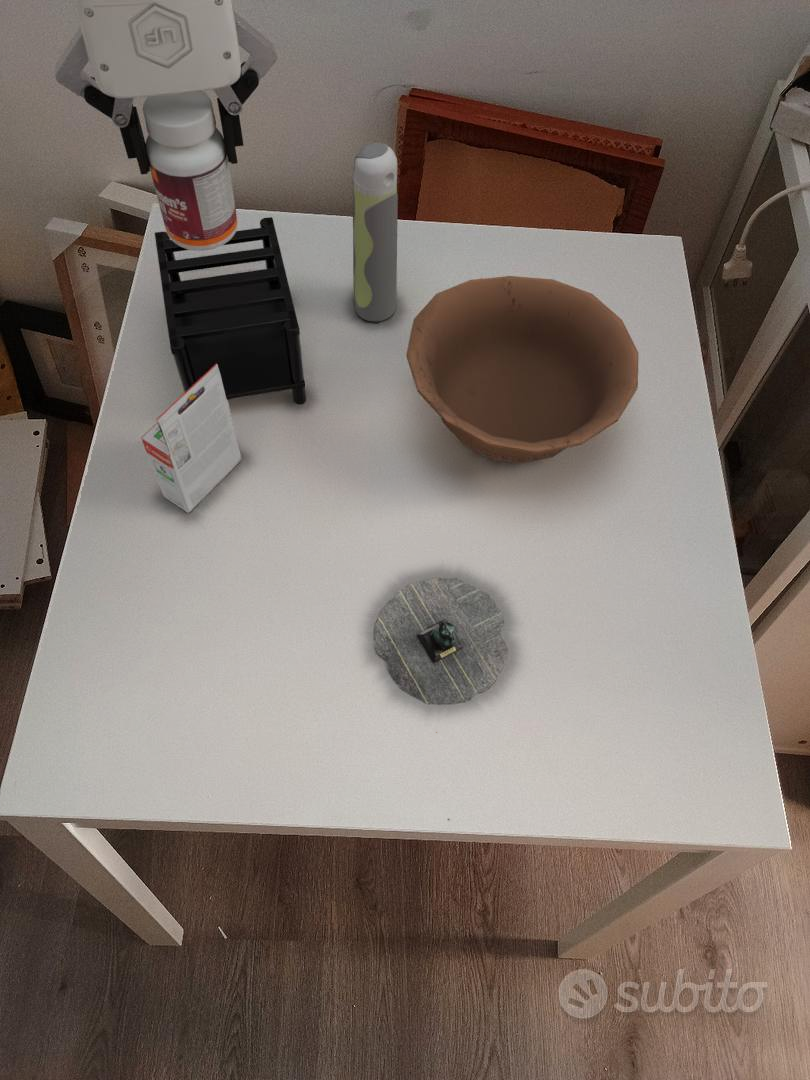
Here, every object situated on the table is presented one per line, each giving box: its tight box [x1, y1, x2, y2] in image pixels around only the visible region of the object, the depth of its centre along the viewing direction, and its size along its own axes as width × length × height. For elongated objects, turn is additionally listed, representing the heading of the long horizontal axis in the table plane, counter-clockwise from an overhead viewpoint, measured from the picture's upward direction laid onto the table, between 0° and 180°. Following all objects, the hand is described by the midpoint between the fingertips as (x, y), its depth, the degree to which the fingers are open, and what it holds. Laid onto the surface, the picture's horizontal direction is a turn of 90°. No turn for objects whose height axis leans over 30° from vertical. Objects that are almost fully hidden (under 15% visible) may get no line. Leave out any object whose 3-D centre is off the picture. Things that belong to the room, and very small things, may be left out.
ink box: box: [140, 364, 242, 514], centre depth 76 cm, size 4×8×15 cm, turn 145°
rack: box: [154, 216, 307, 406], centre depth 85 cm, size 12×16×11 cm
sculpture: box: [374, 577, 509, 705], centre depth 74 cm, size 12×9×8 cm
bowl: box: [406, 275, 639, 464], centre depth 82 cm, size 22×22×11 cm
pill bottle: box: [142, 91, 238, 252], centre depth 67 cm, size 6×6×11 cm
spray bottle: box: [352, 142, 399, 323], centre depth 86 cm, size 5×5×20 cm
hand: (187, 156), depth 65 cm, fingers closed on pill bottle, 6 cm apart
